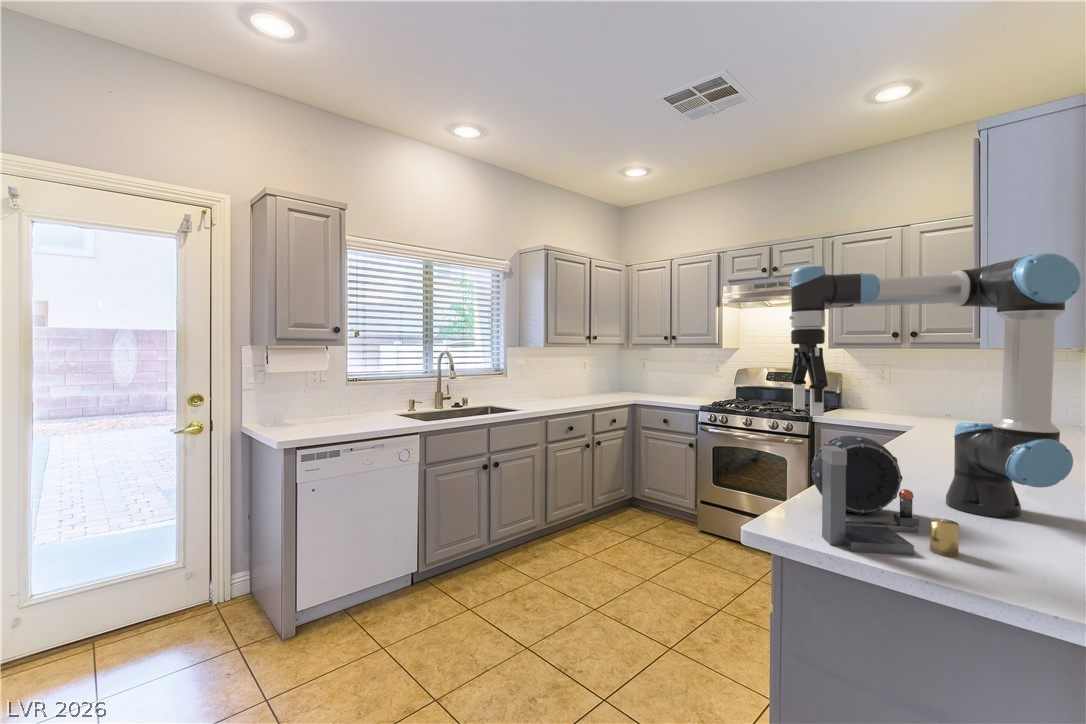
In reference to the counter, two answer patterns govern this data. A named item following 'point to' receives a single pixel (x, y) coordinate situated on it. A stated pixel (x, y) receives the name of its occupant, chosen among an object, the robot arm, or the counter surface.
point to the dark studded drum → (864, 473)
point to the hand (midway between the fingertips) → (807, 412)
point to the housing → (944, 537)
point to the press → (854, 532)
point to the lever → (906, 510)
